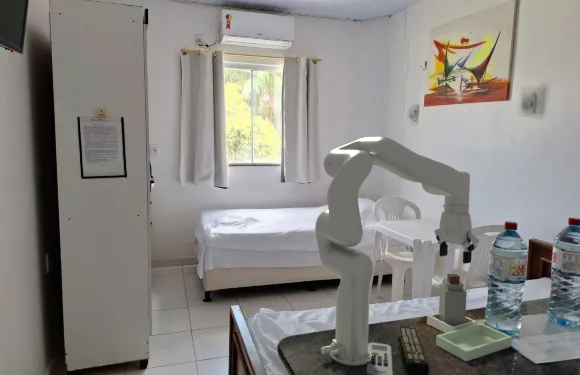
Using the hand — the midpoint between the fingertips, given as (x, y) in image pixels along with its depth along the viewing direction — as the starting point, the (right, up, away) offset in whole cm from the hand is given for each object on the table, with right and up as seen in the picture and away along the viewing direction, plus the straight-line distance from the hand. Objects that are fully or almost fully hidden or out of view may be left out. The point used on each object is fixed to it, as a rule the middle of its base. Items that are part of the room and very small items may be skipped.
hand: (454, 259), depth 137 cm
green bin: (+1, -25, -11) cm, 27 cm away
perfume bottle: (0, -24, +2) cm, 24 cm away
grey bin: (0, -23, +2) cm, 24 cm away
